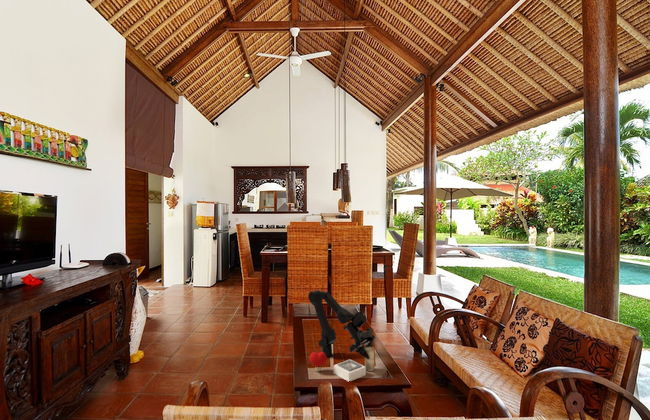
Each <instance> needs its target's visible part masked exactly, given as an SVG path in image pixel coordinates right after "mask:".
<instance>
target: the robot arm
mask: <svg viewBox="0 0 650 420" xmlns="http://www.w3.org/2000/svg"><path fill="white" fill-rule="evenodd" d="M307 297H308V299H309V302H310V303H311V305H312V306H314V309H315V313H316V316H317V318H318V323H319V325H320V328H321V331H320V333H321V334H320V336H321V339H320V340H319V341H318V343H317V344H318V346H319V347H321V348H320V352H324V353H325V354H326V356H327V358H330V357H333V356H335V355H334V353H333V345H334V343H335V341H336V339H337V334H336V331H335V329H334V328H332V327H330V323H329V321H328V318H327V316H326V312H325V308H324V306H323V300H324V302H325V303H326V304H327V305H328V306H329V308H331V310H332V311H333V312H334V313H335V314H336V318H337V319H338V321H339V323H340V324H343V331H346V330H347V332H348V333H349V334H350V336H351V337H350V339H351V340H353V341H354V342H353V343H352V344H351V345H350V346H349V348H348V351H349V352H350V353H351V354H352V353H357V354H359V355H361V356H362V357H364V359H365V358H367V359H369V355H368V354H367V352H366V350H365V347H373V342H374V340H375V339H376V336H375V335H374V334H373V332H374V331H373V330H372V328H371V327H368V328H366V330H365V331H363V330H362V329H360V328H361V327H362V326H363V325H364V324H365V323H366V322H367V320H368V318H367V316H366V315H365V314H363V313H362V312H360V311H358V312H356V313H355V314H352V313H351V312H350V311H349V310H347V309H346V308H343V307H342V305H340V304H339V302H338V301H337V300H336V299H335V298H334V297H333V296H332V295H331V293H330V292H329V291H327V290H325V291H324V290H323V291H321V290H319V289H316V290H312V291H310V292H308V296H307ZM373 348H374V347H373ZM375 356H376V354H375V352H374V357H375Z"/></svg>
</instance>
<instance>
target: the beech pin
mask: <svg viewBox="0 0 650 420" xmlns="http://www.w3.org/2000/svg"><path fill="white" fill-rule="evenodd" d="M364 348H365V350H366V352H367V354H368V355H369V359H367V358H365V357H364V366H365V367H366V372H367V371H368V372H372V371H374V370H375V356H374V353H375V348H374V347H365V346H364Z"/></svg>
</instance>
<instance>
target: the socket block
mask: <svg viewBox="0 0 650 420" xmlns="http://www.w3.org/2000/svg"><path fill="white" fill-rule="evenodd" d="M333 374H334V375H335V376H338V377H339V378H341V379H343V380H345V381H346V382H349V381H350V382H352V381H354V380H356V379H360V378H362V377H364V376H366V375H367V370H366V367H365V365H363V364H361V363H358V362H356V361H355V360H352V359H347V360H345V361H343V362H339V363H337V364H333ZM350 382H349V383H350Z"/></svg>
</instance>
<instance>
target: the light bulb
mask: <svg viewBox="0 0 650 420" xmlns="http://www.w3.org/2000/svg"><path fill="white" fill-rule="evenodd" d="M327 360H328V357H327V356H326V354H325V353H324V352H321V351H320V352H317V351H314V352H311V353H310V355H309V362H310V363H311V364H312V365H313V366H315V371H316V372H318V373H319V372H320V371H321V369H322V368H321V366H323V365H324V364H325V363H326V362H327Z"/></svg>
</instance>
